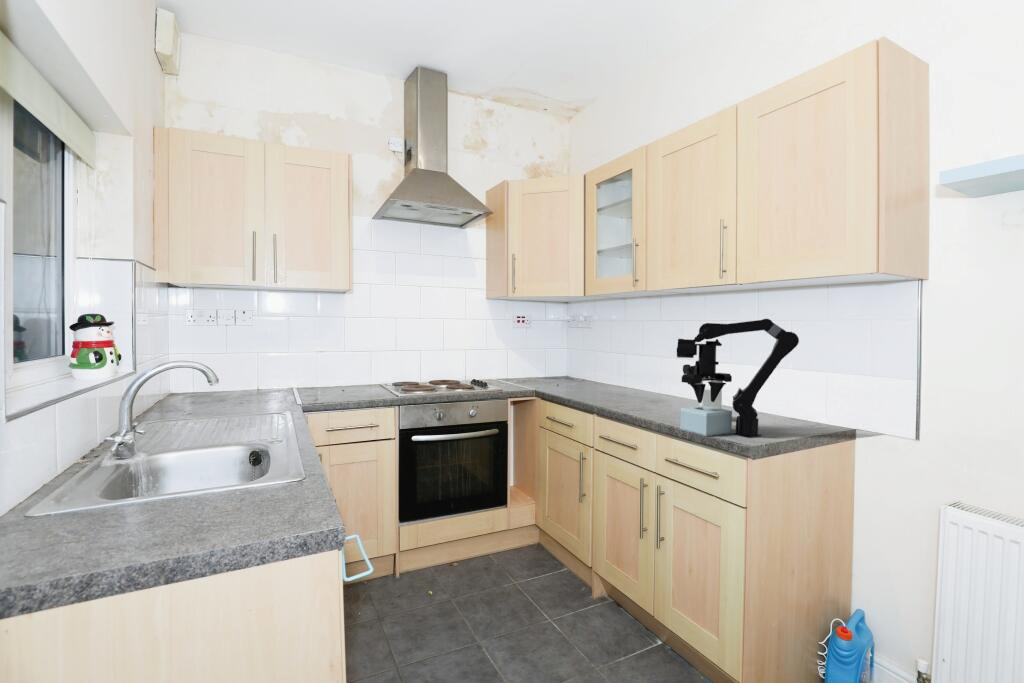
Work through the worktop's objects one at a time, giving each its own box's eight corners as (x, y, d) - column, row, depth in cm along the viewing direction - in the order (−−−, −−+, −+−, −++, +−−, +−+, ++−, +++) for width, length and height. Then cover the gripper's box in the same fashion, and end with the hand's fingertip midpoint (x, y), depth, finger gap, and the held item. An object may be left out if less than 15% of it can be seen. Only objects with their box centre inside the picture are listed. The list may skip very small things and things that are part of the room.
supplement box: (721, 422, 199) (722, 390, 199) (701, 421, 201) (702, 389, 200) (717, 419, 206) (718, 388, 206) (698, 418, 208) (699, 387, 208)
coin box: (731, 433, 178) (731, 410, 178) (706, 436, 173) (706, 413, 173) (705, 427, 189) (705, 405, 189) (680, 429, 184) (680, 407, 184)
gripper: (709, 356, 191) (708, 397, 192) (670, 357, 183) (669, 400, 184) (733, 358, 181) (732, 402, 182) (694, 359, 173) (693, 405, 174)
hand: (706, 402), depth 181 cm, fingers open, 6 cm apart
